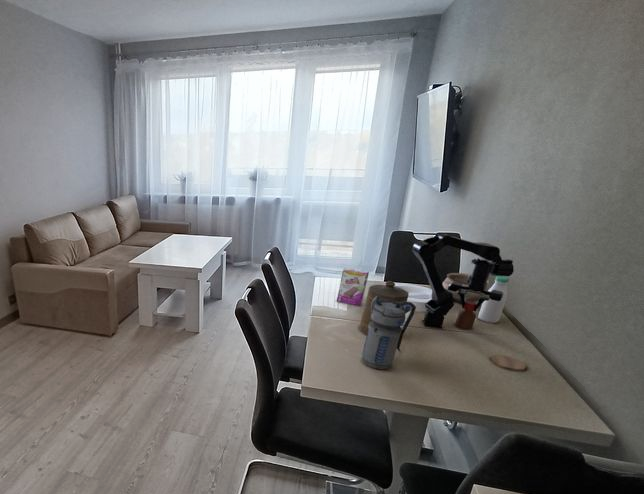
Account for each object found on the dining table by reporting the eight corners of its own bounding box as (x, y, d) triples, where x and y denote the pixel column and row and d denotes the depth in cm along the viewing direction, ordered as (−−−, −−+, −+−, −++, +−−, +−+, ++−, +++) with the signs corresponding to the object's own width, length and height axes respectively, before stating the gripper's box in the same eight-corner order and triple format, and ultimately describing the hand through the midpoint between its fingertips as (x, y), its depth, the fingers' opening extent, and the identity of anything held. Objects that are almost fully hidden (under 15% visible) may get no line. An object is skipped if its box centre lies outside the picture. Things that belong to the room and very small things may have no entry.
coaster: (496, 367, 146) (497, 366, 146) (487, 355, 155) (487, 353, 155) (530, 373, 144) (531, 371, 143) (518, 359, 152) (519, 357, 152)
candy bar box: (336, 301, 203) (342, 269, 196) (338, 298, 207) (344, 267, 200) (360, 306, 198) (367, 274, 191) (362, 303, 201) (369, 271, 195)
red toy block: (476, 310, 175) (479, 303, 173) (470, 311, 173) (472, 305, 172) (467, 307, 178) (469, 300, 177) (461, 308, 177) (463, 301, 175)
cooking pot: (438, 290, 222) (445, 268, 217) (480, 297, 213) (488, 275, 208) (438, 305, 202) (445, 281, 197) (484, 313, 193) (492, 289, 188)
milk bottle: (501, 324, 183) (517, 281, 174) (482, 322, 184) (497, 279, 176) (493, 317, 189) (508, 275, 181) (474, 315, 191) (488, 274, 183)
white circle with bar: (440, 298, 211) (443, 289, 209) (441, 316, 189) (444, 306, 187) (381, 288, 224) (383, 279, 222) (375, 303, 202) (377, 294, 200)
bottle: (456, 328, 177) (464, 305, 173) (452, 322, 183) (459, 300, 178) (473, 330, 175) (481, 307, 171) (469, 324, 181) (476, 302, 177)
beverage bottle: (401, 374, 141) (420, 306, 131) (359, 367, 145) (374, 300, 134) (397, 360, 149) (414, 296, 139) (358, 354, 153) (372, 291, 143)
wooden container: (402, 331, 173) (416, 281, 164) (391, 342, 163) (404, 290, 154) (367, 321, 182) (377, 273, 173) (353, 331, 172) (364, 281, 163)
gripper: (511, 275, 169) (498, 311, 175) (458, 266, 181) (448, 299, 187) (507, 281, 162) (493, 318, 168) (452, 271, 173) (442, 305, 179)
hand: (468, 309), depth 176 cm, fingers closed on red toy block, 4 cm apart
